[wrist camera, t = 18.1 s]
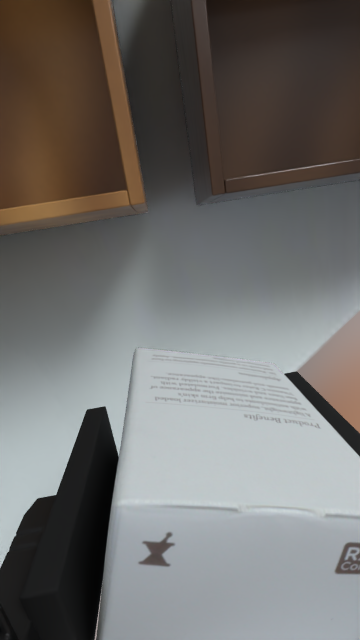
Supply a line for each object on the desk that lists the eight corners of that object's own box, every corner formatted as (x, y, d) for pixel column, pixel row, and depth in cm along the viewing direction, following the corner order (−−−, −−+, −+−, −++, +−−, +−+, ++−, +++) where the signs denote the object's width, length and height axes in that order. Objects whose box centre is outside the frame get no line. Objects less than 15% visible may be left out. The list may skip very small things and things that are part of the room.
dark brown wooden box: (196, 205, 19) (212, 195, 13) (164, -48, 15) (168, -198, 10) (415, 171, 19) (514, 148, 14) (433, -84, 15) (576, -246, 10)
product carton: (119, 466, 14) (79, 722, 7) (135, 342, 12) (105, 507, 5) (247, 476, 14) (335, 715, 7) (280, 360, 13) (435, 526, 6)
